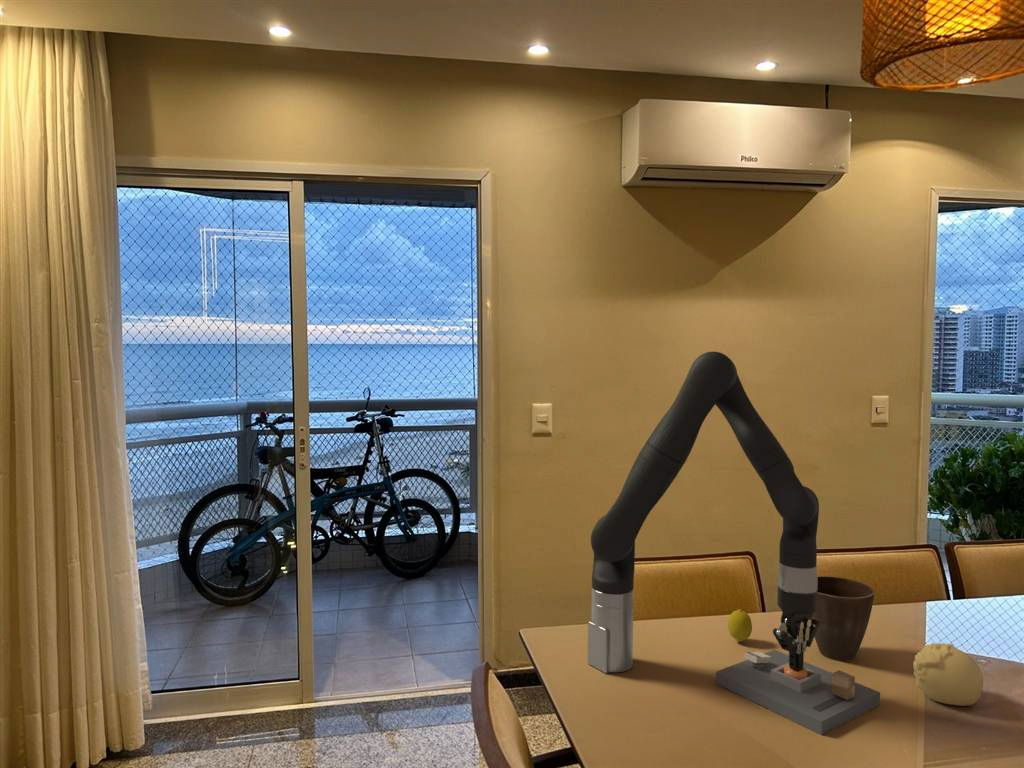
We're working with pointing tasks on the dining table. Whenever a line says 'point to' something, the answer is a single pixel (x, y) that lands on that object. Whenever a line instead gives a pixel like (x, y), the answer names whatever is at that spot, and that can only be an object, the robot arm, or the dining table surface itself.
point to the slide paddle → (843, 685)
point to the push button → (795, 673)
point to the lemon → (739, 625)
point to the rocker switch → (757, 657)
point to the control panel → (796, 692)
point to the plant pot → (842, 616)
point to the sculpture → (948, 675)
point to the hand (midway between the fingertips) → (796, 669)
